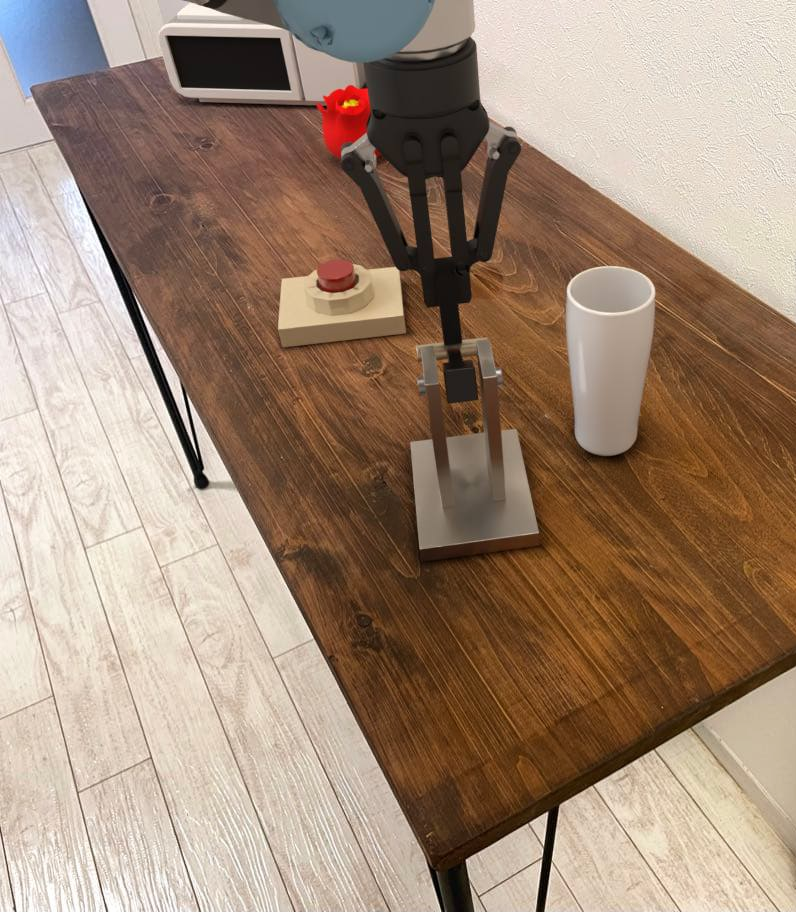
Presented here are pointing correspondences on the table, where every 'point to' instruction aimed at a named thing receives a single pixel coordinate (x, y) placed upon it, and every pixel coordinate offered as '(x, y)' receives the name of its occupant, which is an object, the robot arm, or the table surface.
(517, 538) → the bracket
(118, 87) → the table surface
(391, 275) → the button block
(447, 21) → the robot arm
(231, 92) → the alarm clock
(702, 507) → the table surface
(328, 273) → the button
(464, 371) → the lever
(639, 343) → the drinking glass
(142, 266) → the table surface
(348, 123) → the flower
